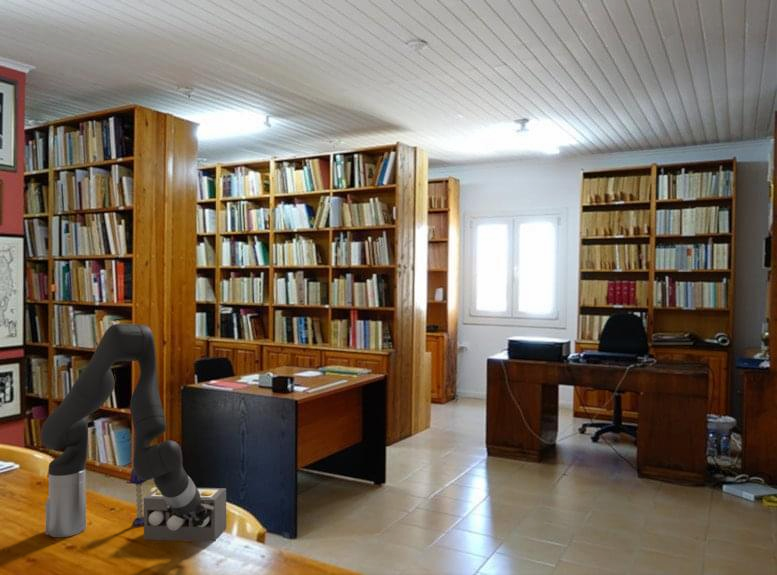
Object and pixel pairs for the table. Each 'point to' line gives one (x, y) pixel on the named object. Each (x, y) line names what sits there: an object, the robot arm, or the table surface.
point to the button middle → (175, 522)
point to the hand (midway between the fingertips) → (199, 522)
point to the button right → (206, 521)
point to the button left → (157, 517)
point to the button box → (188, 528)
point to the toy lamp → (138, 498)
